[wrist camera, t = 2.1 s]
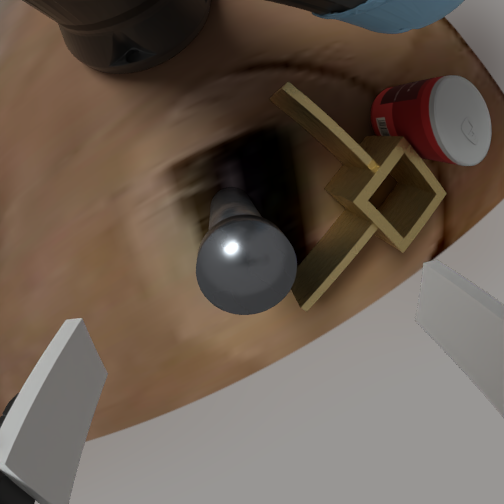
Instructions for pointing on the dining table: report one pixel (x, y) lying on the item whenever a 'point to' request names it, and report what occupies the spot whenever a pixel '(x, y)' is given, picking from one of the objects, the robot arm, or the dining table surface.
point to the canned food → (436, 119)
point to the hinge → (360, 195)
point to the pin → (243, 257)
